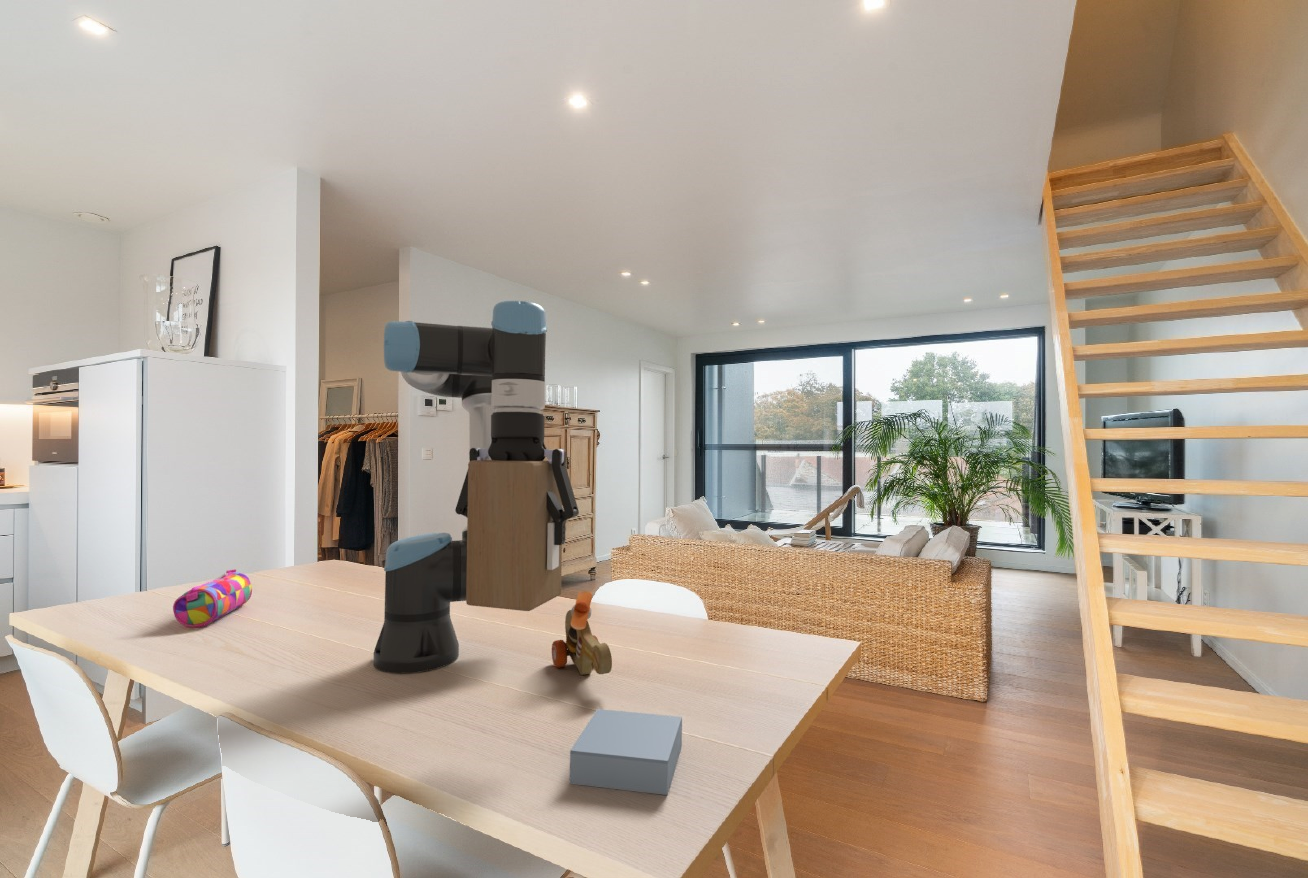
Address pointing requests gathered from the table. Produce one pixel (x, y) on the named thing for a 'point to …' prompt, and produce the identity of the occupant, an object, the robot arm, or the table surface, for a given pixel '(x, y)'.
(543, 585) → the wooden block
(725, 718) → the table surface
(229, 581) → the pencil case
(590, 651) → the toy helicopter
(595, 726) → the base brick
